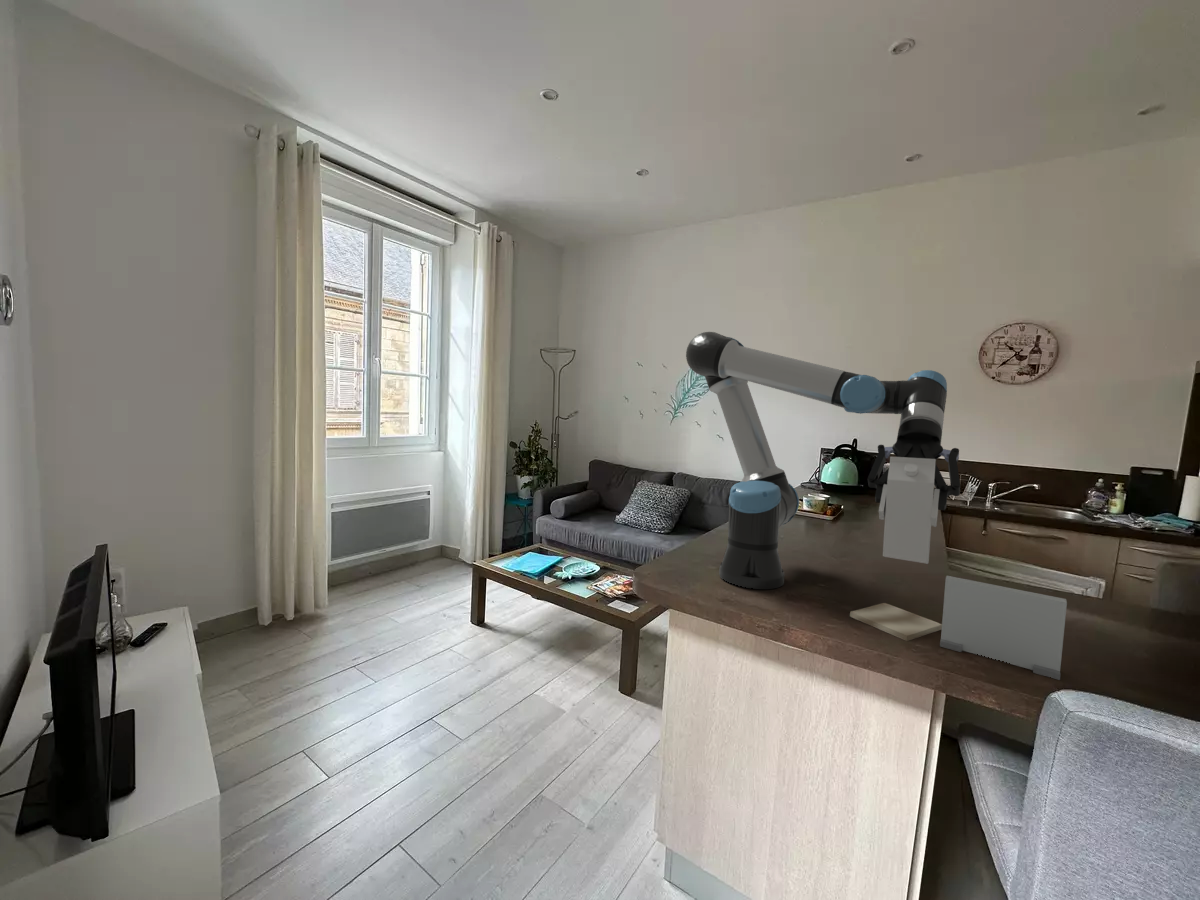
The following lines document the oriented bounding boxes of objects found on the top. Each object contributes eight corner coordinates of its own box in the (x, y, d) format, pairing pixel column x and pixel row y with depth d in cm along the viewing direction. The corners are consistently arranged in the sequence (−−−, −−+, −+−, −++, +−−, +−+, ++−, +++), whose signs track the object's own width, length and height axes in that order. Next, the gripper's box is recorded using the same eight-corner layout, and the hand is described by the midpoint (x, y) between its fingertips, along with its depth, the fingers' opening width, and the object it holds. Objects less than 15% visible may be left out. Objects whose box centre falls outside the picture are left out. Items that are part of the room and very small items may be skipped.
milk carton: (885, 548, 93) (891, 455, 92) (928, 555, 89) (935, 457, 88) (882, 557, 88) (888, 457, 86) (928, 564, 83) (935, 460, 82)
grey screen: (939, 646, 81) (945, 579, 80) (942, 638, 84) (947, 574, 83) (1059, 680, 71) (1067, 604, 70) (1057, 669, 74) (1065, 597, 73)
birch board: (850, 616, 93) (850, 611, 92) (884, 607, 97) (884, 602, 97) (906, 641, 83) (907, 635, 83) (941, 629, 88) (942, 624, 88)
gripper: (981, 444, 92) (976, 539, 81) (866, 439, 105) (847, 521, 94) (984, 417, 88) (979, 514, 77) (863, 416, 101) (843, 499, 89)
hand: (906, 518), depth 85 cm, fingers closed on milk carton, 7 cm apart
